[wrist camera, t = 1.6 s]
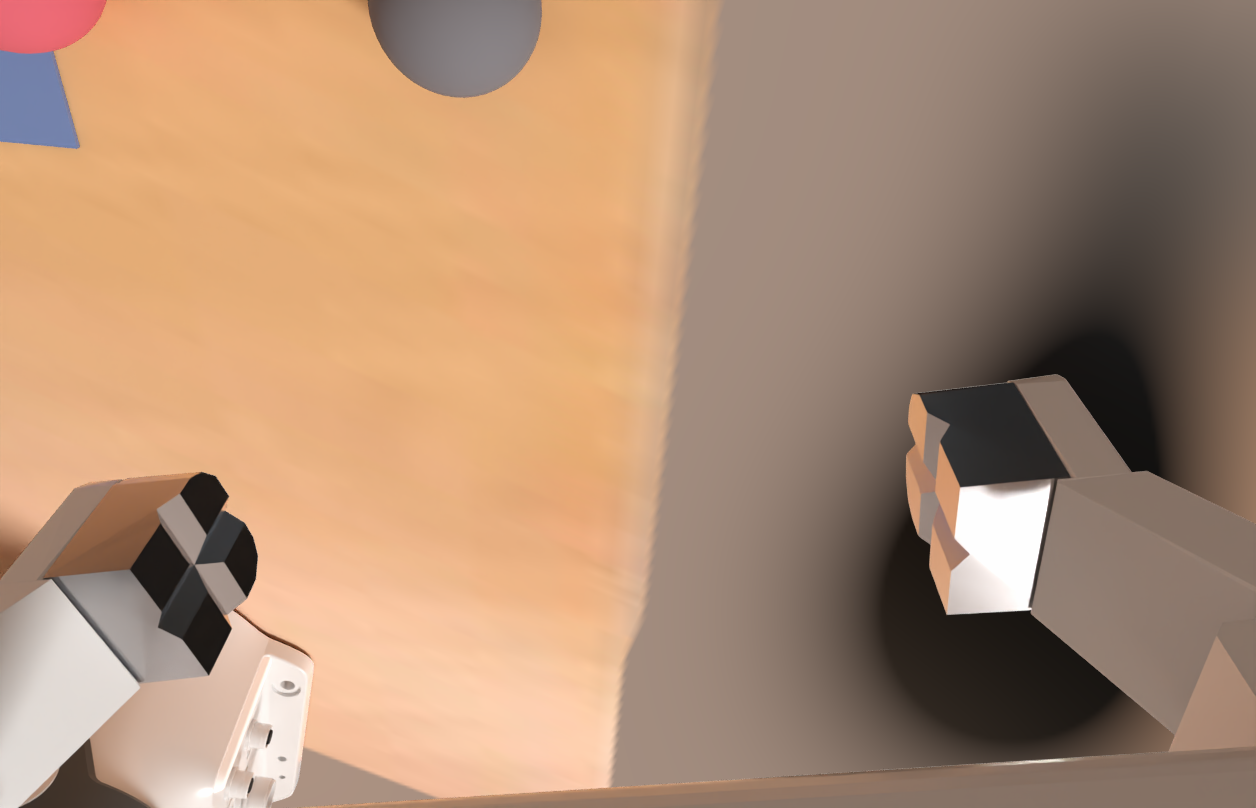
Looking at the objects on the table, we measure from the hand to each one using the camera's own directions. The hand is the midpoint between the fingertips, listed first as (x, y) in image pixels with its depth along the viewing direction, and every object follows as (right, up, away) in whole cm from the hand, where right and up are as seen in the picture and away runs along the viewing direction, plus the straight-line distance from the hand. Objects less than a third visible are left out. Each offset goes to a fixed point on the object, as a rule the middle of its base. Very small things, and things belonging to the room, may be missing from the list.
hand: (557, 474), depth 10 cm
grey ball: (-5, +14, +17) cm, 23 cm away
